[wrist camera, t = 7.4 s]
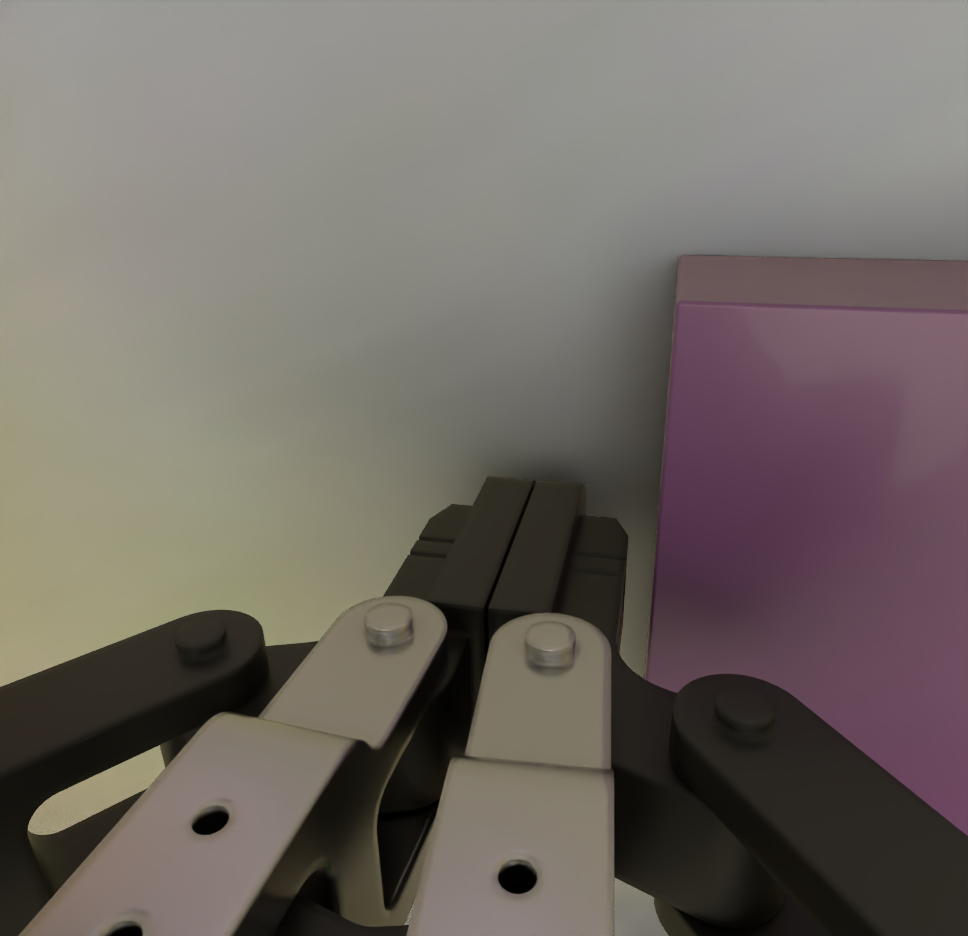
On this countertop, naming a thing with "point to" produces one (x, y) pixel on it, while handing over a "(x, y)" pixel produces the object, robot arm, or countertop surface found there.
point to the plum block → (823, 500)
